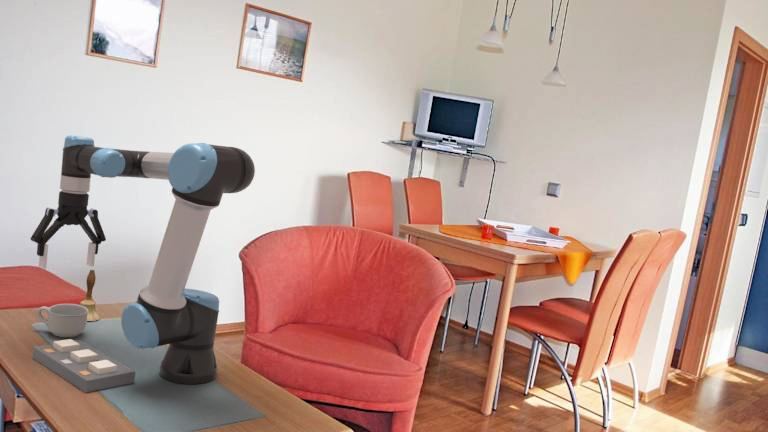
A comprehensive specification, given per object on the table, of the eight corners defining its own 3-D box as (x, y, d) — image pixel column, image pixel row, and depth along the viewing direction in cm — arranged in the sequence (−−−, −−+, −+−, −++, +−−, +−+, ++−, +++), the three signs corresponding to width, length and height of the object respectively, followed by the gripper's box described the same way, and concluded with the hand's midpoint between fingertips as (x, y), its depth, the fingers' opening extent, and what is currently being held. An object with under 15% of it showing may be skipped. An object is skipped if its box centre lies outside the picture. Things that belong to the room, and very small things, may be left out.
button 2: (115, 373, 171) (116, 365, 171) (98, 377, 167) (99, 368, 167) (105, 367, 174) (106, 359, 174) (87, 371, 170) (88, 362, 170)
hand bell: (79, 313, 223) (85, 265, 221) (104, 317, 223) (110, 270, 221) (67, 319, 214) (72, 270, 213) (92, 323, 214) (98, 274, 213)
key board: (134, 382, 174) (135, 371, 173) (85, 392, 163) (87, 380, 163) (79, 350, 190) (80, 339, 189) (32, 357, 179) (33, 346, 179)
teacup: (92, 333, 206) (95, 307, 205) (72, 343, 195) (75, 316, 194) (49, 325, 207) (51, 299, 206) (27, 334, 196) (30, 307, 195)
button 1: (79, 352, 182) (80, 344, 182) (61, 354, 178) (62, 346, 178) (70, 346, 185) (70, 339, 185) (52, 349, 181) (53, 341, 181)
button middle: (96, 362, 177) (97, 354, 176) (79, 365, 173) (80, 357, 173) (87, 356, 179) (88, 348, 179) (69, 359, 176) (70, 351, 175)
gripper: (109, 191, 200) (101, 261, 202) (21, 187, 181) (14, 265, 183) (122, 195, 196) (115, 267, 198) (34, 191, 176) (27, 271, 178)
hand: (66, 266), depth 190 cm, fingers open, 13 cm apart
